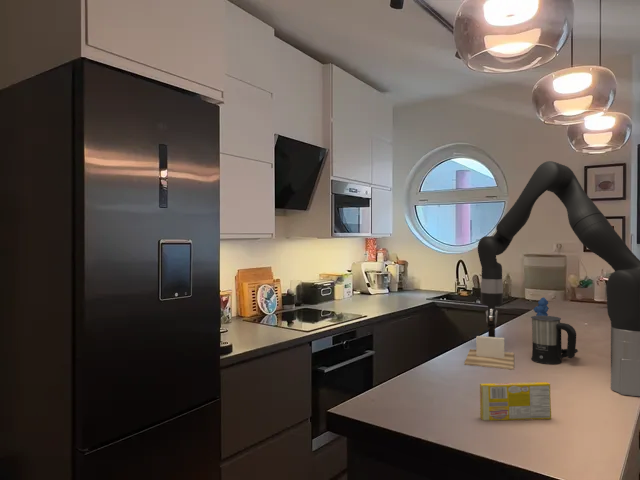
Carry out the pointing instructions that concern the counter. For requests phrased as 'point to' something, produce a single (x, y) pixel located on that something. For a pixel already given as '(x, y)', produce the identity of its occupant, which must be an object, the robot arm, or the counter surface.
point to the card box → (490, 347)
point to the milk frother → (551, 340)
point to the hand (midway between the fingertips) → (491, 339)
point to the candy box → (515, 401)
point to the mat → (490, 360)
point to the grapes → (541, 307)
